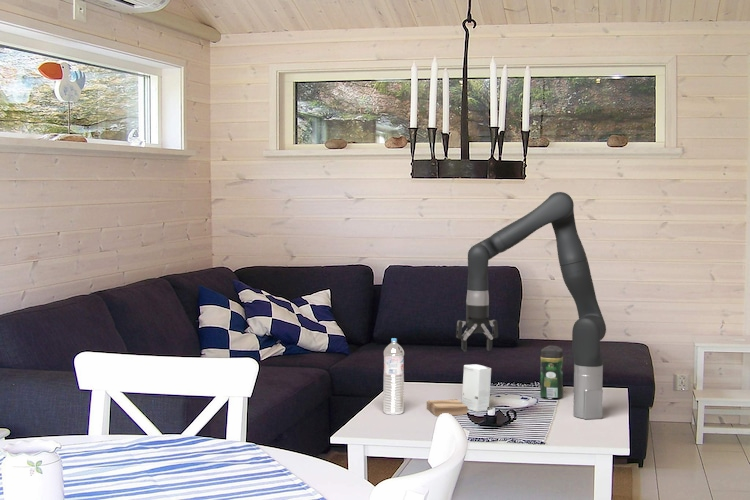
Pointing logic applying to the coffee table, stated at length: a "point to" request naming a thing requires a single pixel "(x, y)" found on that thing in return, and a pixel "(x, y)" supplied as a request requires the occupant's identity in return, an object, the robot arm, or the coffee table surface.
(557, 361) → the coffee jar
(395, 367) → the water bottle
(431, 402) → the plinth
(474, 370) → the skincare box
